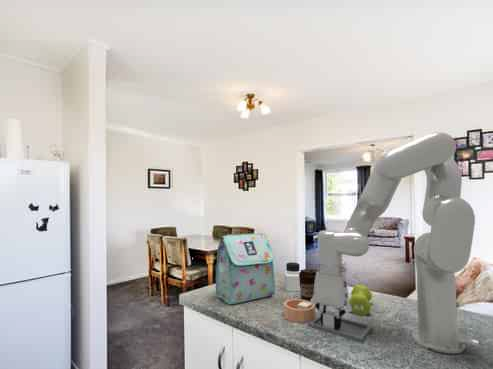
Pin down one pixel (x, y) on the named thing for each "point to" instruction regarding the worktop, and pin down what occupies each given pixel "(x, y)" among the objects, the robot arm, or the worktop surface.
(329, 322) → the grey sharp-edged block
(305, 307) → the cream cube
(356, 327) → the tray
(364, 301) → the dumbbell
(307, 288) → the coffee cup
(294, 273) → the medicine bottle
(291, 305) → the bowl
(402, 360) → the worktop surface
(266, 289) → the lunch bag
